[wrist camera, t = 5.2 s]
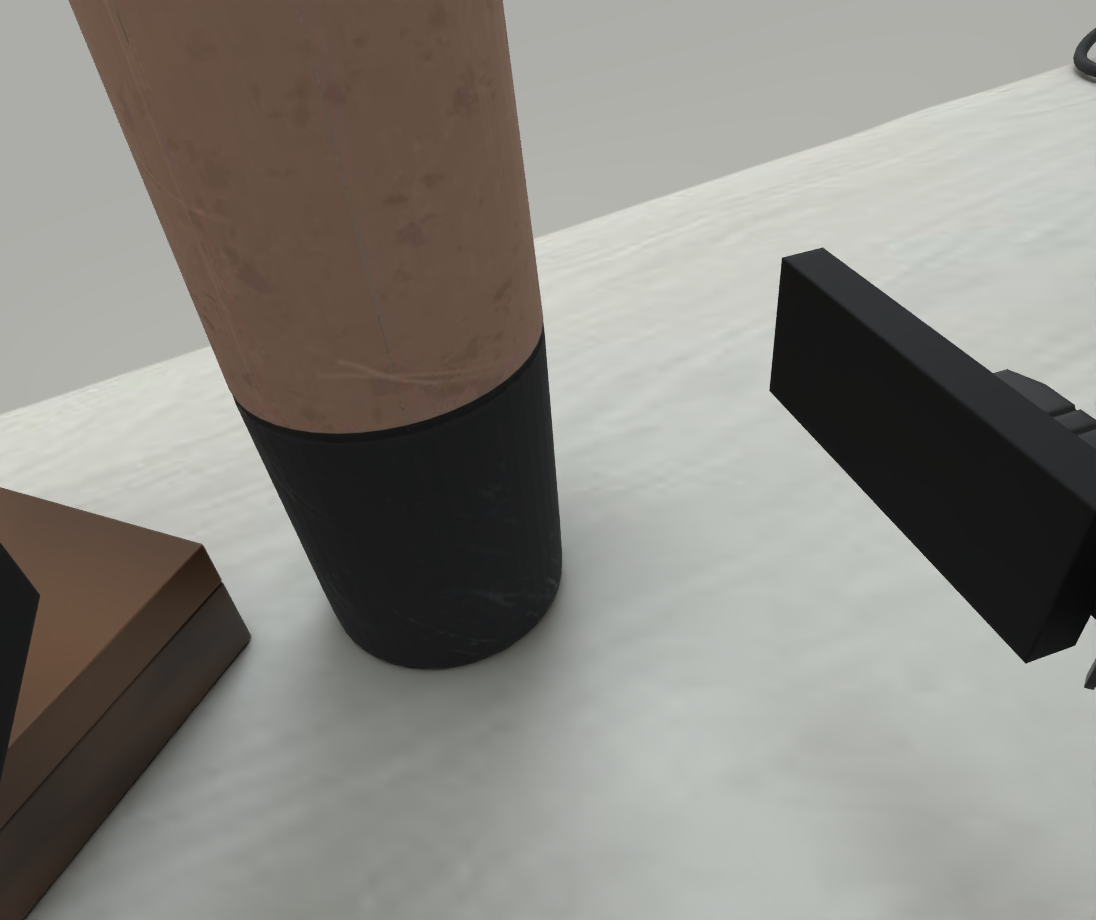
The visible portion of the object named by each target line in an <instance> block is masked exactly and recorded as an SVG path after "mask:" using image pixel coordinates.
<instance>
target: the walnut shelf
mask: <svg viewBox="0 0 1096 920" xmlns="http://www.w3.org/2000/svg"><path fill="white" fill-rule="evenodd" d="M0 543H1V544H2V545H3V546H4V548H5V549H6V550H7V552H8V553H9V554H10V556H11V557H12V558H13V560H14V561H15V562H16V564H17V565H18V566H19V568H20V569H21V570H22V572H23V573H24V574H25V576H26V577H27V578H28V580H29V581H30V582H31V584H32V585H33V586H34V587H35V589H36V590H37V591H38V593H39V594H40V599H39V604H38V609H37V613H36V618H35V623H34V627H33V632H32V637H31V641H30V646H29V651H28V656H27V660H26V665H25V670H24V674H23V679H22V684H21V688H20V693H19V698H18V702H17V707H16V712H15V717H14V721H13V726H12V731H11V735H10V740H9V745H8V749H7V754H6V759H5V763H4V768H3V773H2V777H1V782H0V920H23V919H24V917H25V916H26V915H27V914H28V913H29V911H30V910H31V909H32V908H33V906H34V905H35V904H36V903H37V901H38V900H39V899H40V898H41V896H42V895H43V894H44V893H45V892H46V890H47V889H48V888H49V887H50V885H51V884H52V883H53V882H54V880H55V879H56V878H57V877H58V875H59V874H60V873H61V872H62V871H63V869H64V868H65V867H66V866H67V864H68V863H69V862H70V861H71V859H72V858H73V857H74V856H75V854H76V853H77V852H78V851H79V850H80V848H81V847H82V846H83V845H84V843H85V842H86V841H87V840H88V838H89V837H90V836H91V835H92V833H93V832H94V831H95V830H96V829H97V827H98V826H99V825H100V824H101V822H102V821H103V820H104V819H105V817H106V816H107V815H108V814H109V812H110V811H111V810H112V809H113V808H114V806H115V805H116V804H117V803H118V801H119V800H120V799H121V798H122V796H123V795H124V794H125V793H126V791H127V790H128V789H129V788H130V787H131V785H132V784H133V783H134V782H135V780H136V779H137V778H138V777H139V775H140V774H141V773H142V772H143V770H144V769H145V768H146V767H147V766H148V764H149V763H150V762H151V761H152V759H153V758H154V757H155V756H156V754H157V753H158V752H159V751H160V749H161V748H162V747H163V746H164V745H165V743H166V742H167V741H168V740H169V738H170V737H171V736H172V735H173V733H174V732H175V731H176V730H177V728H178V727H179V726H180V725H181V724H182V722H183V721H184V720H185V719H186V717H187V716H188V715H189V714H190V712H191V711H192V710H193V709H194V707H195V706H196V705H197V704H198V702H199V701H200V700H201V699H202V698H203V696H204V695H205V694H206V693H207V691H208V690H209V689H210V688H211V686H212V685H213V684H214V683H215V681H216V680H217V679H218V678H219V677H220V675H221V674H222V673H223V672H224V670H225V669H226V668H227V667H228V665H229V664H230V663H231V662H232V660H233V659H234V658H235V657H236V656H237V654H238V653H239V652H240V651H241V649H242V648H243V647H244V646H245V644H246V643H247V642H248V641H249V639H250V638H251V635H250V633H249V631H248V629H247V627H246V625H245V623H244V622H243V620H242V618H241V616H240V614H239V612H238V610H237V608H236V606H235V605H234V603H233V601H232V599H231V597H230V595H229V593H228V591H227V589H226V588H225V586H224V584H223V583H222V582H221V581H222V580H221V578H220V576H219V574H218V572H217V570H216V568H215V566H214V564H213V563H212V561H211V559H210V557H209V555H208V553H207V551H206V549H205V547H204V546H203V545H202V544H200V543H196V542H193V541H189V540H186V539H182V538H179V537H175V536H171V535H168V534H164V533H161V532H157V531H154V530H150V529H147V528H143V527H139V526H136V525H132V524H129V523H125V522H122V521H118V520H115V519H111V518H108V517H104V516H100V515H97V514H93V513H90V512H86V511H83V510H79V509H76V508H72V507H68V506H65V505H61V504H58V503H54V502H51V501H47V500H44V499H40V498H37V497H33V496H29V495H26V494H22V493H19V492H15V491H12V490H8V489H5V488H1V487H0Z"/></svg>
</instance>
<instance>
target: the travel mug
mask: <svg viewBox="0 0 1096 920" xmlns="http://www.w3.org/2000/svg"><path fill="white" fill-rule="evenodd" d="M69 2H70V5H71V7H72V9H73V12H74V14H75V17H76V19H77V21H78V24H79V26H80V29H81V31H82V34H83V36H84V39H85V41H86V43H87V46H88V48H89V51H90V53H91V56H92V58H93V60H94V63H95V65H96V68H97V70H98V72H99V75H100V77H101V80H102V82H103V84H104V87H105V89H106V92H107V94H108V97H109V99H110V102H111V104H112V106H113V109H114V111H115V114H116V116H117V119H118V121H119V123H120V126H121V128H122V131H123V133H124V136H125V138H126V140H127V143H128V145H129V148H130V150H131V152H132V155H133V157H134V160H135V162H136V165H137V167H138V169H139V172H140V174H141V177H142V179H143V181H144V184H145V186H146V189H147V191H148V194H149V196H150V198H151V201H152V203H153V205H154V208H155V211H156V213H157V216H158V218H159V220H160V223H161V225H162V228H163V230H164V232H165V235H166V237H167V240H168V242H169V245H170V247H171V249H172V252H173V254H174V257H175V259H176V261H177V264H178V266H179V269H180V271H181V273H182V276H183V279H184V281H185V283H186V286H187V288H188V291H189V293H190V296H191V298H192V300H193V303H194V305H195V308H196V310H197V312H198V315H199V317H200V319H201V322H202V325H203V327H204V329H205V332H206V334H207V337H208V339H209V342H210V344H211V346H212V349H213V351H214V354H215V356H216V359H217V361H218V363H219V366H220V368H221V371H222V373H223V376H224V378H225V380H226V383H227V385H228V388H229V390H230V391H231V393H232V395H233V397H234V400H235V403H236V405H237V408H238V410H239V412H240V414H241V416H242V418H243V420H244V422H245V425H246V427H247V429H248V431H249V433H250V435H251V437H252V439H253V442H254V444H255V446H256V448H257V450H258V452H259V454H260V456H261V459H262V461H263V463H264V465H265V467H266V469H267V471H268V473H269V476H270V478H271V480H272V482H273V484H274V486H275V488H276V490H277V493H278V495H279V497H280V499H281V501H282V503H283V505H284V507H285V510H286V512H287V514H288V516H289V518H290V520H291V522H292V524H293V527H294V529H295V531H296V533H297V535H298V537H299V539H300V541H301V544H302V546H303V548H304V550H305V552H306V554H307V556H308V558H309V561H310V563H311V565H312V567H313V569H314V571H315V573H316V576H317V578H318V580H319V582H320V584H321V586H322V588H323V590H324V592H325V594H326V596H327V598H328V600H329V602H330V604H331V606H332V609H333V611H334V613H335V614H336V616H337V618H338V620H339V621H340V623H341V625H342V626H343V628H344V630H345V631H346V633H347V634H348V635H349V636H350V637H351V638H352V639H353V641H354V642H355V643H357V644H358V645H359V646H360V647H362V648H363V649H364V650H365V651H367V652H368V653H370V654H372V655H374V656H376V657H377V658H379V659H382V660H385V661H387V662H390V663H393V664H397V665H401V666H405V667H414V668H444V667H453V666H458V665H462V664H467V663H471V662H474V661H477V660H480V659H483V658H486V657H488V656H490V655H492V654H494V653H496V652H499V651H501V650H502V649H504V648H506V647H507V646H509V645H511V644H512V643H514V642H515V641H517V640H518V639H519V638H521V637H522V636H523V635H525V634H526V633H527V632H528V631H529V630H530V629H531V628H532V627H533V626H534V625H535V624H536V623H537V622H538V621H539V620H540V618H541V617H542V616H543V615H544V613H545V612H546V611H547V609H548V607H549V606H550V604H551V602H552V601H553V598H554V596H555V594H556V591H557V589H558V585H559V581H560V577H561V569H562V547H561V531H560V518H559V505H558V493H557V481H556V468H555V456H554V443H553V431H552V419H551V406H550V394H549V382H548V369H547V357H546V345H545V333H544V324H543V313H542V305H541V297H540V289H539V281H538V273H537V266H536V258H535V250H534V242H533V234H532V227H531V219H530V211H529V203H528V196H527V188H526V180H525V173H524V164H523V157H522V148H521V140H520V133H519V125H518V117H517V110H516V101H515V94H514V86H513V79H512V70H511V63H510V55H509V47H508V39H507V32H506V23H505V16H504V8H503V0H69Z"/></svg>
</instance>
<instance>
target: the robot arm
mask: <svg viewBox="0 0 1096 920" xmlns="http://www.w3.org/2000/svg"><path fill="white" fill-rule="evenodd" d="M1095 42H1096V28H1095V29H1094V30H1092V31H1091V32H1090V33H1089V34H1087V35H1086V36H1085V37H1084V38H1083V40H1082V41H1081V42H1080V43H1079V45H1078V46H1077V48H1076V51H1075V54H1074V57H1073V58H1074V64H1075V66H1076V67H1077V68H1078V70H1080V71H1081V72H1083V73H1085V74H1087V75H1090V76H1093V77H1096V63H1094V62H1093V61H1091V60H1089V59H1088V58H1087V52H1088V51H1089V49H1090V47H1091V46H1092V45H1093V44H1094V43H1095ZM770 392H771V393H772V394H773V395H774V396H775V397H776V398H777V399H778V400H779V401H780V403H781V404H782V405H783V406H784V407H785V408H786V409H787V410H788V411H789V412H790V413H791V414H792V415H793V416H794V417H795V418H796V420H797V421H798V422H799V423H800V424H801V425H802V426H803V427H804V428H805V429H806V430H807V431H808V432H809V433H810V434H811V436H812V437H813V438H814V439H815V440H816V441H817V442H818V443H819V444H820V445H821V446H822V447H823V448H824V449H825V450H826V451H827V453H828V454H829V455H830V456H831V457H832V458H833V459H834V460H835V461H836V462H837V463H838V464H839V465H840V466H841V467H842V469H843V470H844V471H845V472H846V473H847V474H848V475H849V476H850V477H851V478H852V479H853V480H854V481H855V482H856V483H857V484H858V486H859V487H860V488H861V489H862V490H863V491H864V492H865V493H866V494H867V495H868V496H869V497H870V498H871V499H872V500H873V502H874V503H875V504H876V505H877V506H878V507H879V508H880V509H881V510H882V511H883V512H884V513H885V514H886V515H887V516H888V517H889V519H890V520H891V521H892V522H893V523H894V524H895V525H896V526H897V527H898V528H899V529H900V530H901V531H902V532H903V533H904V535H905V536H906V537H907V538H908V539H909V540H910V541H911V542H912V543H913V544H914V545H915V546H916V547H917V548H918V549H919V550H920V552H921V553H922V554H923V555H924V556H925V557H926V558H927V559H928V560H929V561H930V562H931V563H932V564H933V565H934V566H935V568H936V569H937V570H938V571H939V572H940V573H941V574H942V575H943V576H944V577H945V578H946V579H947V580H948V581H949V582H950V583H951V585H952V586H953V587H954V588H955V589H956V590H957V591H958V592H959V593H960V594H961V595H962V596H963V597H964V598H965V599H966V601H967V602H968V603H969V604H970V605H971V606H972V607H973V608H974V609H975V610H976V611H977V612H978V613H979V614H980V615H981V616H982V618H983V619H984V620H985V621H986V622H987V623H988V624H989V625H990V626H991V627H992V628H993V629H994V630H995V631H996V632H997V634H998V635H999V636H1000V637H1001V638H1002V639H1003V640H1004V641H1005V642H1006V643H1007V644H1008V645H1009V646H1010V647H1011V648H1012V650H1013V651H1014V652H1015V653H1016V654H1017V655H1018V656H1019V657H1020V658H1021V659H1022V660H1023V661H1024V662H1025V663H1028V662H1031V661H1034V660H1037V659H1039V658H1042V657H1045V656H1048V655H1050V654H1053V653H1056V652H1059V651H1061V650H1064V649H1067V648H1070V647H1072V646H1075V645H1076V643H1077V641H1078V639H1079V637H1080V635H1081V633H1082V631H1083V629H1084V627H1085V625H1086V623H1087V621H1088V619H1089V617H1090V615H1092V616H1093V617H1094V618H1095V619H1096V420H1095V419H1094V418H1092V417H1091V416H1089V415H1088V414H1087V413H1085V412H1084V411H1082V410H1081V409H1080V410H1076V409H1075V405H1074V404H1072V403H1071V402H1070V401H1068V400H1067V399H1065V398H1064V397H1063V396H1061V395H1060V394H1058V393H1057V392H1055V391H1054V390H1053V389H1051V388H1050V387H1048V386H1047V385H1045V384H1043V383H1041V382H1038V381H1036V380H1033V379H1031V378H1028V377H1025V376H1023V375H1020V374H1018V373H1015V372H1013V371H1010V370H1008V369H1006V370H1003V371H999V372H996V373H992V372H990V371H989V370H988V369H986V368H985V367H984V366H982V365H981V364H980V363H978V362H977V361H976V360H974V359H973V358H972V357H970V356H969V355H967V354H966V353H965V352H963V351H962V350H961V349H959V348H958V347H957V346H955V345H954V344H953V343H951V342H950V341H948V340H947V339H946V338H944V337H943V336H942V335H940V334H939V333H938V332H936V331H935V330H934V329H932V328H931V327H930V326H928V325H927V324H925V323H924V322H923V321H921V320H920V319H919V318H917V317H916V316H915V315H913V314H912V313H911V312H909V311H908V310H906V309H905V308H904V307H902V306H901V305H900V304H898V303H897V302H896V301H894V300H893V299H892V298H890V297H889V296H888V295H886V294H885V293H883V292H882V291H881V290H879V289H878V288H877V287H875V286H874V285H873V284H871V283H870V282H869V281H867V280H866V279H864V278H863V277H862V276H860V275H859V274H858V273H856V272H855V271H854V270H852V269H851V268H850V267H848V266H847V265H846V264H844V263H843V262H841V261H840V260H839V259H837V258H836V257H835V256H833V255H832V254H831V253H829V252H828V251H827V250H825V249H824V248H819V249H815V250H811V251H807V252H803V253H799V254H795V255H791V256H787V257H783V258H782V264H781V275H780V285H779V296H778V306H777V317H776V328H775V338H774V349H773V359H772V370H771V380H770ZM39 599H40V594H39V593H38V591H37V590H36V589H35V587H34V586H33V585H32V584H31V582H30V581H29V580H28V578H27V577H26V576H25V574H24V573H23V572H22V570H21V569H20V568H19V566H18V565H17V564H16V562H15V561H14V560H13V558H12V557H11V556H10V554H9V553H8V552H7V550H6V549H5V548H4V546H3V545H2V544H1V543H0V782H1V777H2V773H3V768H4V763H5V759H6V754H7V749H8V745H9V740H10V735H11V731H12V726H13V721H14V717H15V712H16V707H17V702H18V698H19V693H20V688H21V684H22V679H23V674H24V670H25V665H26V660H27V656H28V651H29V646H30V641H31V637H32V632H33V627H34V623H35V618H36V613H37V609H38V604H39ZM1095 687H1096V659H1095V661H1094V663H1093V664H1092V666H1091V668H1090V670H1089V672H1088V673H1087V676H1086V681H1085V685H1084V688H1088V689H1092V690H1094V688H1095Z"/></svg>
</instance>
